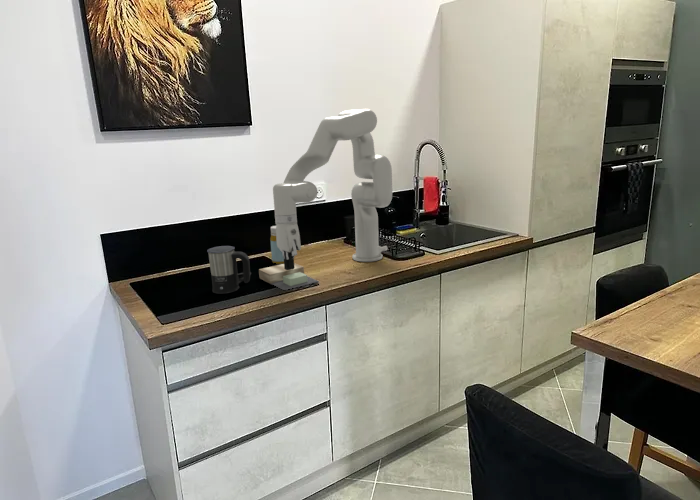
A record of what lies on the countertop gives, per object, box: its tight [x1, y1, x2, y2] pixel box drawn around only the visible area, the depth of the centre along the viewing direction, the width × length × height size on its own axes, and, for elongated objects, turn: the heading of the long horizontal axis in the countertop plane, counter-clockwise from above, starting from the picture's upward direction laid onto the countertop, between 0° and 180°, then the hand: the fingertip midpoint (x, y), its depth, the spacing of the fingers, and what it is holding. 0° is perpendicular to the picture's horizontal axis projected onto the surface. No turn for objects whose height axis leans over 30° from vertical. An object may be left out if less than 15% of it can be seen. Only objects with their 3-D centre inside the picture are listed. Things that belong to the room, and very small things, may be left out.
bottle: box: [269, 225, 285, 265], centre depth 198 cm, size 7×7×15 cm
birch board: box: [258, 262, 305, 285], centre depth 180 cm, size 14×9×4 cm, turn 126°
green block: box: [283, 272, 308, 286], centre depth 172 cm, size 7×5×2 cm
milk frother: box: [206, 245, 252, 295], centre depth 170 cm, size 14×16×15 cm
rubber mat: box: [270, 275, 320, 291], centre depth 172 cm, size 14×10×1 cm
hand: (289, 268), depth 174 cm, fingers closed
